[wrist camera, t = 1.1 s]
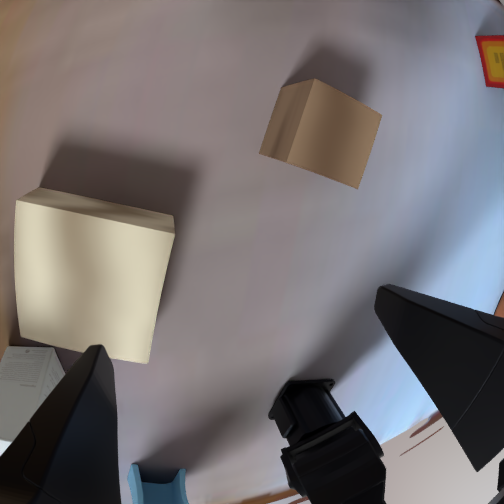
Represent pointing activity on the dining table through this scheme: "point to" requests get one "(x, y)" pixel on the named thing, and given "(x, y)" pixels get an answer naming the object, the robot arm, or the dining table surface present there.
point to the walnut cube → (321, 131)
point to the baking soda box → (492, 59)
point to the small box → (24, 386)
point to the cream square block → (89, 272)
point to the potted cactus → (500, 308)
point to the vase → (157, 489)
